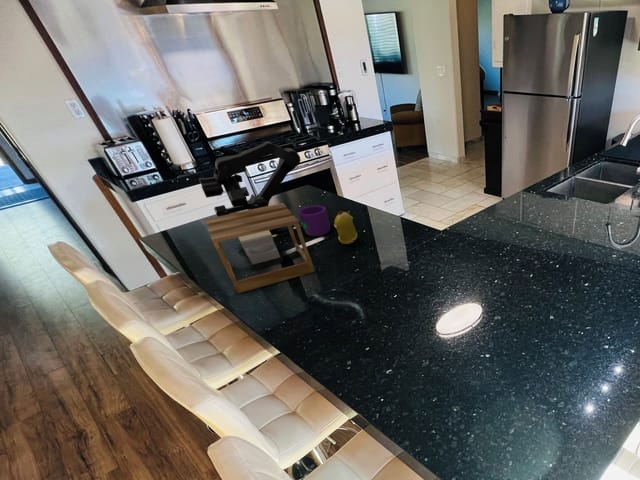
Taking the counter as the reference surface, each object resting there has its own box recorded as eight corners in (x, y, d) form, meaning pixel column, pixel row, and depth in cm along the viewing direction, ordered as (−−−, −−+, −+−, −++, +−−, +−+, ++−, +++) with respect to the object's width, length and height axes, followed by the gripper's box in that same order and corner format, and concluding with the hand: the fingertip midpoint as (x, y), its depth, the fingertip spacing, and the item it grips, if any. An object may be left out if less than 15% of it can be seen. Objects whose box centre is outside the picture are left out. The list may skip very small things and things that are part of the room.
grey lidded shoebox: (274, 247, 165) (267, 228, 160) (284, 261, 155) (276, 241, 149) (245, 254, 160) (237, 235, 155) (253, 270, 150) (244, 249, 145)
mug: (336, 232, 175) (330, 209, 168) (312, 240, 169) (305, 217, 162) (318, 221, 184) (311, 199, 178) (294, 229, 178) (287, 206, 172)
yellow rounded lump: (360, 247, 163) (351, 210, 153) (340, 250, 161) (330, 213, 151) (357, 236, 171) (349, 200, 161) (338, 239, 169) (328, 203, 159)
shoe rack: (228, 268, 152) (204, 218, 139) (299, 250, 162) (282, 202, 150) (237, 293, 137) (212, 240, 125) (314, 271, 148) (297, 220, 135)
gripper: (203, 185, 148) (220, 224, 148) (256, 175, 156) (272, 212, 156) (210, 201, 159) (227, 237, 159) (260, 191, 166) (275, 225, 166)
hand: (250, 227), depth 160 cm, fingers open, 9 cm apart
